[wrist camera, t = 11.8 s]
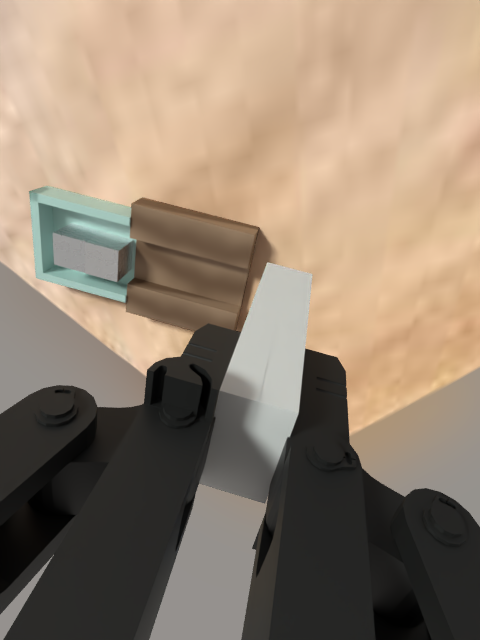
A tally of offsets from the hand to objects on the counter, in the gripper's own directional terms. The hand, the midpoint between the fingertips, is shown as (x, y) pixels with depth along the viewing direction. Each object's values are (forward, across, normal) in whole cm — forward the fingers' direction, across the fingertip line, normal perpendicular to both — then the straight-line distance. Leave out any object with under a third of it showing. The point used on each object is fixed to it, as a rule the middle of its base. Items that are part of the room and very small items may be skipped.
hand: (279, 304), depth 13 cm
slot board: (+32, -11, -15) cm, 37 cm away
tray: (+32, -24, -15) cm, 43 cm away
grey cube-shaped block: (+32, -25, -15) cm, 43 cm away
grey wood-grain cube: (+32, -21, -15) cm, 41 cm away
